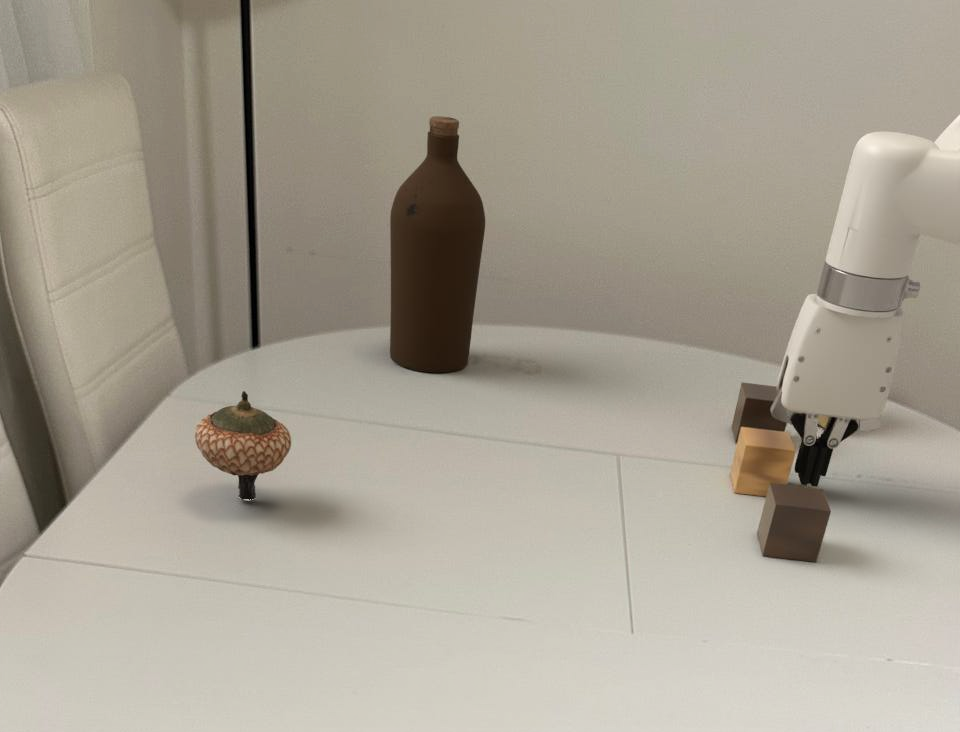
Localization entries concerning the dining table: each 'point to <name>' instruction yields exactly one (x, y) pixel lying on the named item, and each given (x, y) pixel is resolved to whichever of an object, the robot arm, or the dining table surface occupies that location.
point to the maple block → (761, 460)
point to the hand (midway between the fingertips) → (807, 480)
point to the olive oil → (435, 258)
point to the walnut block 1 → (756, 409)
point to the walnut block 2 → (793, 522)
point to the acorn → (243, 443)
